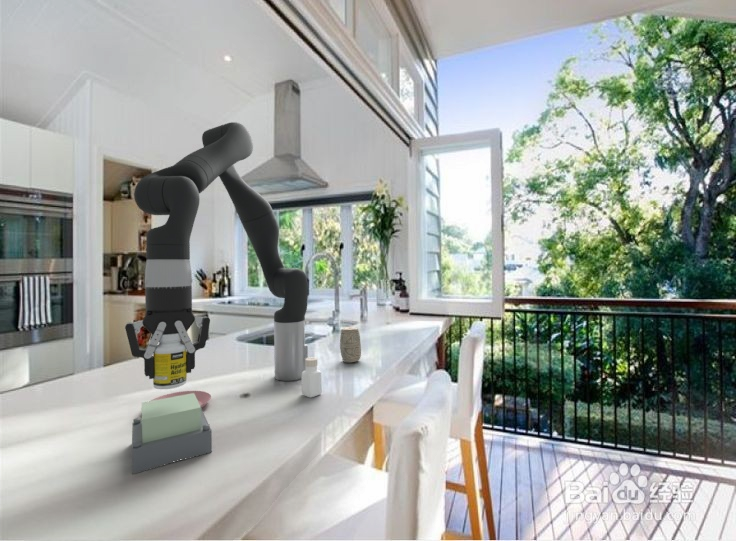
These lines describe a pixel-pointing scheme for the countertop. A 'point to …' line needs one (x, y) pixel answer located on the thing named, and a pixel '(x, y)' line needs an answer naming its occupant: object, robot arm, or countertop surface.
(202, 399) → the plate
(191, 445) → the sponge in grey tray
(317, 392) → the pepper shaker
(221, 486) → the countertop surface
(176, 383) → the supplement bottle
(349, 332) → the carving
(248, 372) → the countertop surface
